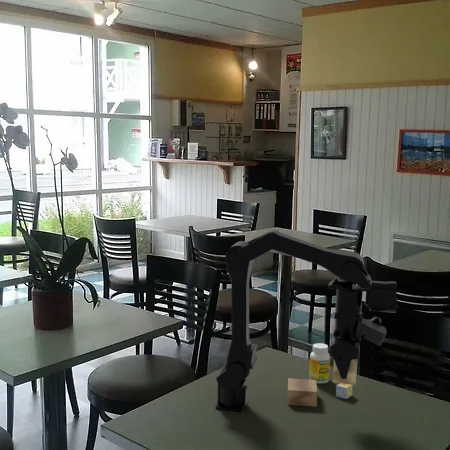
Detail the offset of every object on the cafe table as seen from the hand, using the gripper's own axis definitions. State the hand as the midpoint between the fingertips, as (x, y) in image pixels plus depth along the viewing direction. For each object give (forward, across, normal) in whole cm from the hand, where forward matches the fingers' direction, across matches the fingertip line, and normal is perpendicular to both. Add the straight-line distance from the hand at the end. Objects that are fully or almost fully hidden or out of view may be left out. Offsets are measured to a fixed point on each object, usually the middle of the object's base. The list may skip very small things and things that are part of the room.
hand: (344, 374), depth 132 cm
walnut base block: (+11, +7, +10) cm, 17 cm away
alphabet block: (+11, +12, 0) cm, 16 cm away
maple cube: (+1, 0, 0) cm, 1 cm away
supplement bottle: (+11, +20, +7) cm, 24 cm away
